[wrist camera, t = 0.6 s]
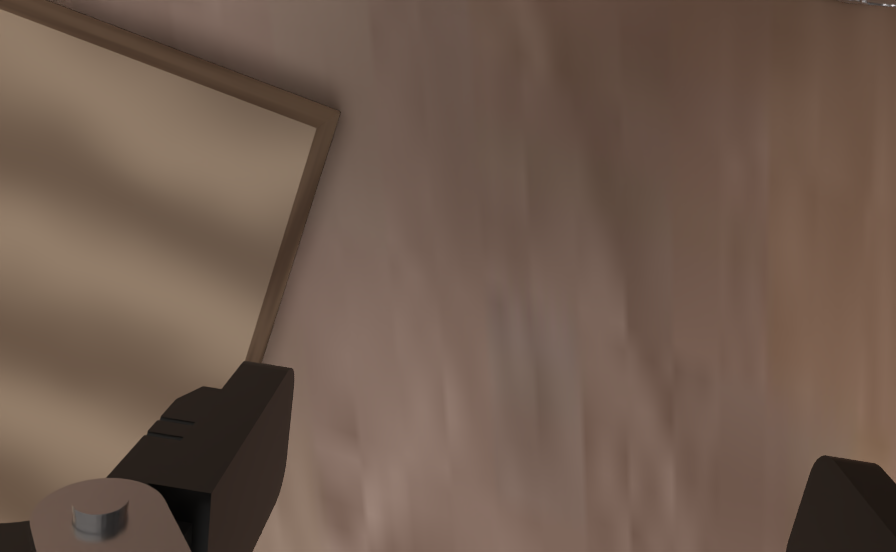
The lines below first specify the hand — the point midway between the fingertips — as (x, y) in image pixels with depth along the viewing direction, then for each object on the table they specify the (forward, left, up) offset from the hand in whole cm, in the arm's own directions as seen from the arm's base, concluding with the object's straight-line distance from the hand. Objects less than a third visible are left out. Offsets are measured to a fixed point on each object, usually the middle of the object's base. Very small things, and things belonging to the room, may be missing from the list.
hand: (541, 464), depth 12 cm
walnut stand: (+11, -16, -19) cm, 27 cm away
